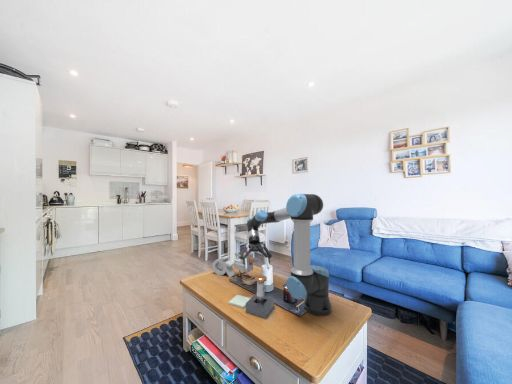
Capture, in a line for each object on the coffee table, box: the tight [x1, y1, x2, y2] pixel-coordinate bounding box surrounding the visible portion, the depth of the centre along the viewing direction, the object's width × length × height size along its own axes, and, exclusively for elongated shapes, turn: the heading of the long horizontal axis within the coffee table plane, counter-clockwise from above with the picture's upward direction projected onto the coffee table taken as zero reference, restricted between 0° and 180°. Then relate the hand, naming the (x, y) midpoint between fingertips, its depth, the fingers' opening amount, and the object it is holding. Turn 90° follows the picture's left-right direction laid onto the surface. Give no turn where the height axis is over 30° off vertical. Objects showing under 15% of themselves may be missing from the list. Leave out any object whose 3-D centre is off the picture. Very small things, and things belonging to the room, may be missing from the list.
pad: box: [227, 294, 252, 309], centre depth 124 cm, size 10×10×1 cm
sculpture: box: [211, 255, 237, 278], centre depth 165 cm, size 18×6×15 cm, turn 65°
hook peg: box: [254, 274, 268, 305], centre depth 116 cm, size 6×6×18 cm
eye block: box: [245, 293, 275, 320], centre depth 116 cm, size 12×12×5 cm
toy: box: [233, 250, 256, 276], centre depth 160 cm, size 10×17×20 cm, turn 52°
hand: (257, 268), depth 126 cm, fingers open, 13 cm apart
